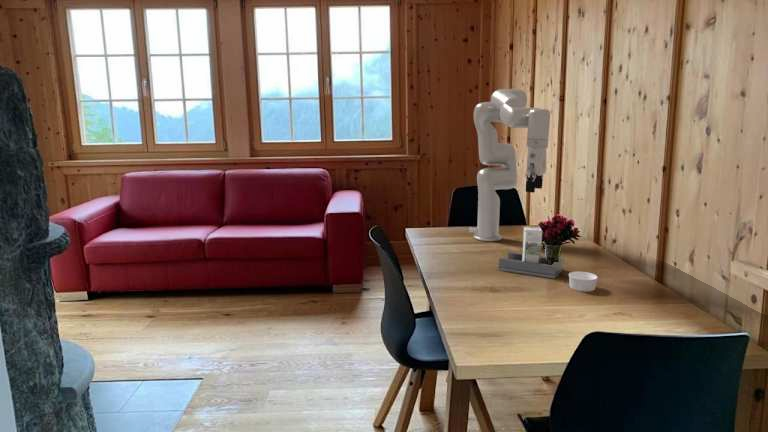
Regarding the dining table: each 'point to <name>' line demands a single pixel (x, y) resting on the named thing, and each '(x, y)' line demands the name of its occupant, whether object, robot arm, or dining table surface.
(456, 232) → the dining table surface
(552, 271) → the track
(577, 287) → the ramekin
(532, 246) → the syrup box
